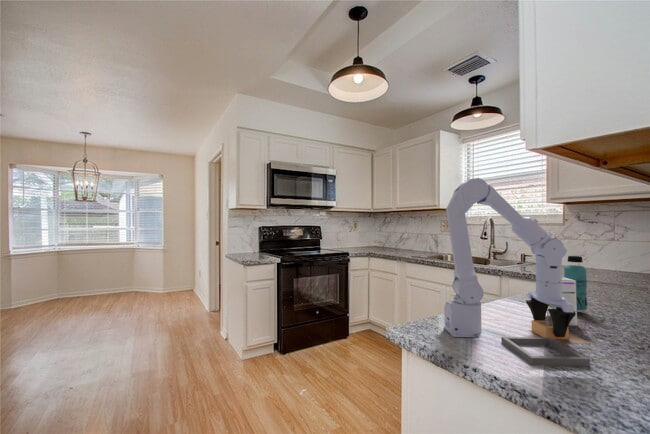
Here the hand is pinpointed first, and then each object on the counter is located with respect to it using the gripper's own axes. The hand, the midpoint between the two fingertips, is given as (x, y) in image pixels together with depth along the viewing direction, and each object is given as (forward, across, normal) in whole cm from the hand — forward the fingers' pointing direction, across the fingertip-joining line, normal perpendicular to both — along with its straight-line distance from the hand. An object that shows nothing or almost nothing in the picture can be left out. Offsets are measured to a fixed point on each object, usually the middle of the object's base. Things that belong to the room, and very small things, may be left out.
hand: (549, 331), depth 81 cm
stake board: (+2, -1, -2) cm, 3 cm away
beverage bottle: (+2, +26, -26) cm, 37 cm away
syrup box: (+2, +12, -12) cm, 16 cm away
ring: (+1, 0, 0) cm, 1 cm away
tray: (+2, -12, +10) cm, 16 cm away
